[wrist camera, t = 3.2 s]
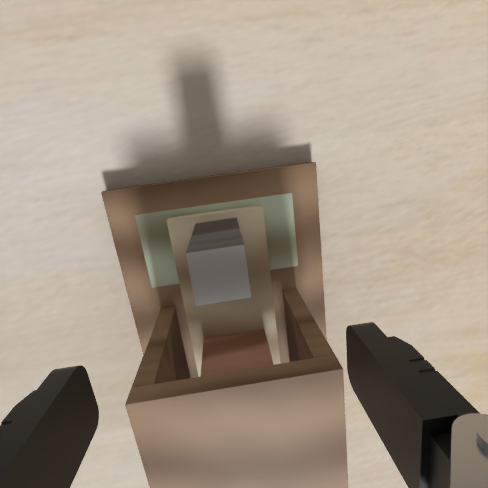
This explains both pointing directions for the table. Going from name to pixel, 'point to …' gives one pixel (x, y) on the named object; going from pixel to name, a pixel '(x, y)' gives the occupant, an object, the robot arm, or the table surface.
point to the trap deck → (242, 381)
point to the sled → (226, 288)
